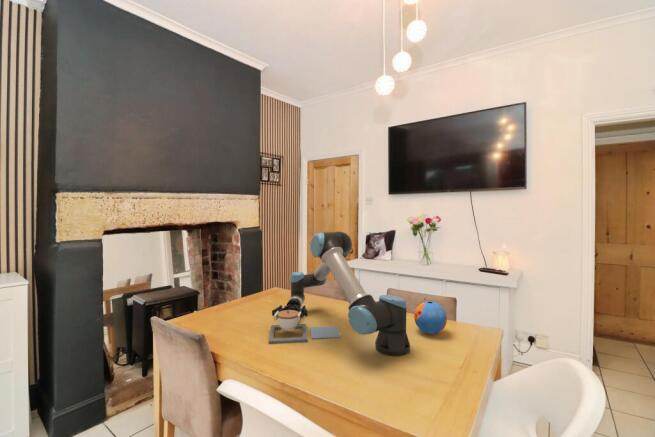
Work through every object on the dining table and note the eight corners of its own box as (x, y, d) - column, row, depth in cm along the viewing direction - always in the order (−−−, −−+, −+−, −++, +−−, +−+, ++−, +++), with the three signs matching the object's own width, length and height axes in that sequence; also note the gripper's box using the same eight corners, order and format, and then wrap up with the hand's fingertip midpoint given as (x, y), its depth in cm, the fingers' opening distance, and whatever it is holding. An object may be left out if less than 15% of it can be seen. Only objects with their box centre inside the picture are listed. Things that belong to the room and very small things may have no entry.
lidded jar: (301, 325, 161) (300, 306, 161) (296, 333, 151) (296, 313, 150) (280, 324, 162) (280, 306, 162) (274, 332, 152) (274, 313, 151)
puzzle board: (307, 342, 148) (307, 339, 148) (268, 343, 146) (268, 341, 146) (306, 325, 167) (306, 323, 167) (271, 327, 166) (271, 325, 165)
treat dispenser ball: (449, 340, 149) (449, 308, 148) (415, 337, 152) (415, 306, 151) (443, 328, 164) (444, 298, 164) (413, 325, 167) (413, 297, 167)
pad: (340, 337, 152) (340, 336, 152) (311, 339, 151) (311, 338, 151) (336, 326, 166) (336, 325, 166) (310, 327, 165) (310, 327, 165)
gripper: (315, 311, 174) (310, 326, 152) (273, 311, 175) (262, 325, 153) (315, 298, 173) (310, 311, 151) (273, 297, 175) (262, 310, 153)
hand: (286, 318), depth 152 cm, fingers closed on lidded jar, 11 cm apart
